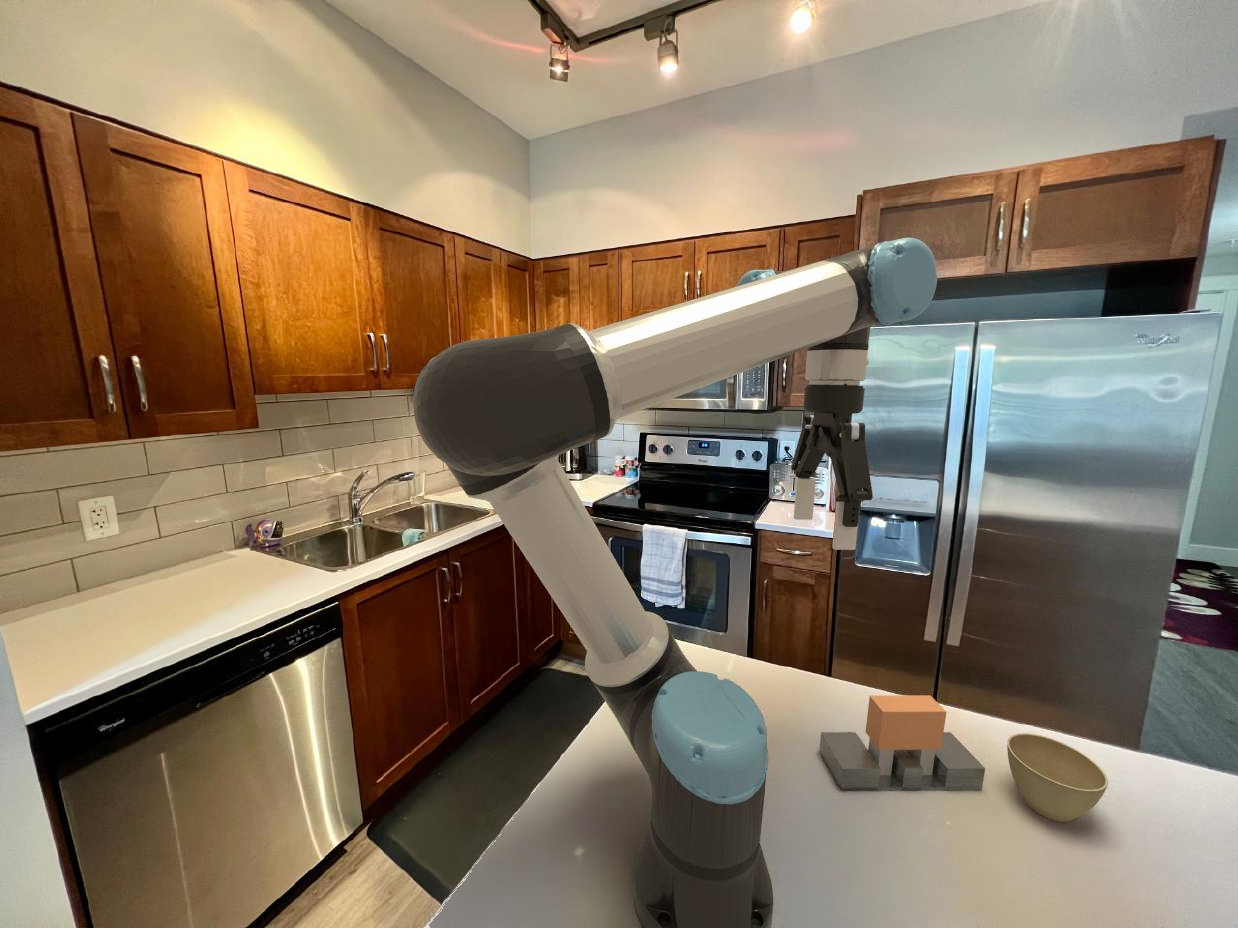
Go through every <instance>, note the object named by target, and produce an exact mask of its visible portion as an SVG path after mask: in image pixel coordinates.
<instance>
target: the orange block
mask: <svg viewBox="0 0 1238 928" xmlns="http://www.w3.org/2000/svg"><path fill="white" fill-rule="evenodd" d="M866 716H867V717H866V725H865V734H866V735H867V736H868V738H869V740H868V748H867V749H868V751H869V752H870V754H871V755H872V757H873V758H874V760H875V761H876V762H877V764H878V765H879V767H880V768H881V770H880V775H891V771H892V763H893V755H894V750H909V751H910V752H911V753H912V755H913V756H914V757H915V758H916V760H917V761H918V762H919V763H920V765H921V766H922V767H923V768H924V769H923V775H932V772H933V765H934V758H935V751H936V749H941V746H942V740H943V733H944V732H945V724H946V717H947V710H946V709H945V708H944V707H942V706H941V705H940V704H939V703H938V702H937V701H936V699H935V698H934V697H933V696H932V695H926V694H925V695H923V694H921V695H919V694H918V695H914V694H913V695H912V694H911V695H906V694H905V695H901V694H900V695H869V699H868V706H867V715H866Z"/></svg>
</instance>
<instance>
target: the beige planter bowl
mask: <svg viewBox="0 0 1238 928" xmlns="http://www.w3.org/2000/svg"><path fill="white" fill-rule="evenodd" d="M1006 743H1007V745H1006V748H1007V749H1006V750H1007V759H1008V765H1009V768H1010V772H1011V775H1012V778H1013V781H1014V783H1015V786H1016V787H1017V790H1018V792H1019V795H1021V798H1022V800H1023V801H1024V802H1025V803H1026V805H1028V807H1029V808H1031V809H1032V811H1034V812H1036V813H1037V814H1039V815H1040V816H1042V817H1044V818H1047V819H1049V820H1051V821H1054V822H1058V823H1068V822H1071V821H1075V820H1077V819H1078V818H1080V817H1082V816H1083V815H1085V814H1086V813H1088V812H1089V811H1091V810H1092V809H1093V808H1094V807H1095V806H1096V805H1097V804H1098V803H1099V801H1100V800H1101V799H1102V797H1103V796H1104V794H1105V792H1106V790H1107V787H1108V786H1109V779H1108V776H1107V774H1106V773H1105V771H1104V770H1103V769H1102V767H1100V766H1099V765H1098V764H1097V763H1096V762H1095V761H1094V760H1092V759H1091V758H1090V757H1088V756H1087V755H1085V754H1084V753H1082V752H1081V751H1080V750H1077V749H1075V748H1074V747H1072V746H1070V745H1068V744H1067V743H1064V742H1061V741H1059V740H1057V739H1054V738H1051V737H1048V736H1044V735H1041V734H1036V733H1028V732H1027V733H1025V732H1022V733H1015V734H1013V735H1012V734H1011V736H1009V737H1008V739H1007V742H1006Z"/></svg>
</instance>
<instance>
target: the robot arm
mask: <svg viewBox="0 0 1238 928" xmlns="http://www.w3.org/2000/svg"><path fill="white" fill-rule="evenodd" d="M937 284H938V275H937V262H936V259H935V255H934V254H933V251H932V250H931V248H930V247H929V246H928V245H927V244H926V243H925V242H924V241H922V240H921V239H917V238H914V237H903V238H898V239H894V240H889V241H888V240H885V241H882V242H878V243H877V244H875V245H872V246H867V247H864V248H861V249H857V250H854V251H850V252H847V253H845V254H842V255H841V254H840V255H836V256H834V257H830V258H828V259H824V260H820V261H817V262H816V261H815V262H812V263H809V264H805V265H802V266H798V267H794V268H791V269H788V270H782V271H781V270H779V271H778V270H774V269H772V268H767V269H752V270H748V271H747V272H745V274H743V275H742V276H741V277H740V279H739V280H738V282H737V283H736V284H735V287H731V288H728V289H727V288H726V289H724V290H721V291H717V292H713V293H711V294H708V295H704V296H700V297H697V298H694V299H692V300H691V299H690V300H688V301H684V302H682V303H678V304H675V305H671V306H667V307H664V308H661V309H658V310H654V311H651V312H648V313H644V314H640V315H638V316H633V317H630V318H628V319H624V320H621V321H618V322H613V323H611V324H607V325H605V326H601V327H598V328H595V329H591V330H586V329H585V328H583V327H581V326H580V325H578V324H577V323H575V322H568V323H566V324H562V325H558V326H555V327H552V328H551V327H550V328H547V329H543V330H538V331H535V332H527V333H522V334H516V335H510V336H509V335H508V336H500V337H499V336H498V337H490V338H480V339H478V338H477V339H470V340H465V341H462V342H459V343H456V344H453V345H451V346H449V347H447V348H446V349H444V350H442V351H441V352H440V353H439V354H438V355H436V356H434V357H432V358H431V359H430V360H429V361H428V362H427V364H426V365H425V366H424V367H423V369H422V370H421V371H420V372H419V373H420V374H419V376H418V377H417V379H416V381H415V386H414V389H413V390H414V391H413V397H412V398H413V399H412V401H413V402H412V403H413V407H412V408H413V416H414V417H413V418H414V421H415V426H416V428H417V430H418V432H419V435H420V437H421V440H422V441H423V443H424V444H425V445H426V447H427V448H428V449H429V450H430V452H431V453H432V454H434V456H435V457H436V458H437V459H438V460H439V461H441V462H442V463H444V464H445V465H446V467H447V468H448V469H449V471H450V472H451V474H452V475H453V477H454V478H455V480H456V481H457V482H458V484H459V486H460V487H461V488H462V490H463V491H464V493H465V494H466V496H467V497H468V498H471V499H475V500H481V501H486V502H488V503H489V504H490V505H491V507H492V508H493V510H494V511H495V514H496V515H497V516H498V518H499V519H500V521H501V522H502V524H503V525H504V527H505V528H506V530H507V531H508V533H509V535H510V536H511V537H512V538H513V540H514V542H515V543H516V545H517V547H519V549H520V551H521V552H522V554H523V555H524V557H525V559H526V560H527V561H528V563H529V564H530V566H531V568H532V570H533V571H534V573H535V574H536V575H537V577H538V579H539V580H540V582H541V584H542V585H543V586H544V587H545V589H546V590H547V592H548V594H549V595H550V597H551V598H552V600H553V601H554V603H555V604H556V606H557V607H558V609H559V610H560V612H561V613H562V615H563V616H564V618H565V620H566V621H567V623H568V624H569V626H570V627H571V629H572V630H573V632H574V634H576V636H577V638H578V639H579V641H580V643H581V644H582V646H583V647H584V648H585V650H586V655H585V659H584V669H585V673H586V674H587V676H588V678H589V679H590V680H591V682H592V684H593V685H594V687H595V689H597V691H598V692H599V694H600V696H601V697H602V699H603V700H604V702H605V703H606V705H607V706H608V708H609V710H610V711H611V713H612V714H613V715H614V717H615V719H616V720H617V722H618V724H619V725H620V727H621V729H622V731H623V732H624V734H625V736H626V738H627V740H628V741H629V742H630V745H631V746H632V748H633V750H634V752H635V754H636V755H637V757H638V759H639V761H640V762H641V764H642V766H643V768H644V770H645V771H646V773H647V775H648V777H649V781H650V785H651V786H650V787H651V799H650V802H651V803H650V822H649V824H648V826H647V829H646V831H645V833H644V836H643V837H642V840H641V842H640V844H639V847H638V849H637V852H636V855H635V860H634V865H633V866H634V867H633V877H632V878H633V881H632V883H633V885H632V887H633V894H632V895H633V900H634V906H635V910H636V913H637V916H638V919H639V922H640V923H641V925H642V927H643V928H772V923H773V911H774V891H773V883H772V879H771V875H770V871H769V869H768V866H767V865H768V864H767V863H766V859H765V855H764V852H763V849H762V848H763V847H762V845H761V835H762V834H761V833H762V826H763V825H762V824H763V814H764V806H765V805H764V803H765V793H766V781H767V774H768V773H767V771H768V765H769V750H768V733H767V731H768V730H767V726H766V721H765V719H764V716H763V713H762V712H761V709H760V707H759V705H758V704H757V703H756V702H755V699H754V698H753V697H752V696H751V695H750V694H749V693H748V692H747V691H746V690H745V689H744V688H743V687H741V686H740V685H738V683H736V682H734V681H732V680H730V679H729V678H726V677H725V678H723V679H719V678H718V675H717V674H715V673H712V672H708V671H700V670H699V671H698V670H697V668H695V666H694V665H692V663H691V662H690V661H689V659H687V657H686V655H685V654H684V652H683V651H682V649H681V647H680V646H679V644H678V642H677V641H676V639H675V637H674V636H673V633H672V632H671V630H670V629H669V627H668V625H667V623H666V621H665V620H664V619H663V618H662V617H661V616H660V615H658V614H657V613H654V612H651V611H646V610H645V609H644V606H643V605H642V604H641V602H640V600H639V597H637V595H636V592H635V591H634V590H633V588H632V586H631V584H630V583H629V581H628V579H627V578H626V576H625V574H624V572H623V570H622V569H621V567H620V566H619V564H618V562H617V560H616V558H615V557H614V555H613V553H612V551H611V550H610V548H609V546H608V544H607V543H606V541H605V540H604V538H603V535H602V534H601V532H600V531H599V529H598V527H597V526H596V523H595V522H594V520H593V518H592V517H591V515H590V514H589V512H588V510H587V508H586V506H585V504H584V503H583V501H582V499H581V498H580V496H579V495H578V493H577V491H576V488H574V486H573V484H572V482H571V481H570V479H569V477H568V475H567V473H566V472H565V470H564V468H563V467H562V464H561V463H560V462H559V457H560V455H563V454H564V453H565V454H566V453H567V452H570V451H573V450H574V449H577V448H580V447H582V446H584V445H587V444H589V443H592V442H595V441H598V440H600V439H602V438H603V439H604V438H606V437H607V436H609V435H610V434H612V432H613V429H614V426H615V425H616V422H617V420H618V419H621V418H623V417H626V416H629V415H632V414H635V413H637V412H640V411H643V410H645V409H648V408H650V407H653V406H656V405H659V404H661V403H664V402H666V401H669V400H672V399H674V398H677V397H680V396H683V395H685V394H688V393H691V392H694V391H697V390H699V389H701V388H705V387H707V386H711V385H712V384H715V383H718V382H720V381H721V382H722V381H723V380H725V379H728V378H731V377H734V376H736V375H739V374H742V373H745V372H747V371H749V370H753V369H755V368H758V367H761V366H764V365H766V364H769V363H771V362H775V361H776V360H779V359H782V358H786V357H787V356H790V355H793V354H795V353H798V352H801V351H804V350H806V349H807V351H806V352H807V353H806V364H805V374H804V375H805V376H804V377H805V380H806V381H809V384H807V385H806V386H805V387H804V393H803V394H804V395H803V410H804V411H806V412H809V413H813V414H812V415H811V414H810V415H809V414H806V415H805V414H804V415H803V418H802V425H801V431H800V434H799V438H798V442H797V444H796V449H795V452H794V455H793V459H792V462H791V464H790V465H791V466H790V469H791V471H792V472H794V474H795V475H794V476H795V478H796V484H795V495H794V496H795V497H794V510H793V519H794V520H798V521H799V520H805V521H806V520H807V521H810V520H812V521H813V518H814V517H813V516H814V506H815V505H814V504H815V493H816V484H817V483H816V482H817V481H816V480H817V479H816V478H818V474H817V469H818V467H819V466H820V463H821V461H822V460H823V458H824V456H825V455H826V456H827V457H828V458H830V461H831V466H832V468H833V473H834V477H835V481H836V485H837V489H838V492H839V494H838V495H837V497H835V499H834V500H835V501H836V503H835V513H834V523H833V532H832V533H833V535H832V547H831V548H832V549H833V550H835V551H836V550H837V551H839V550H841V551H843V550H844V551H847V550H848V551H854V550H855V551H856V549H857V548H856V547H857V538H858V529H859V516H860V507H861V503H863V502H865V501H872V500H873V497H874V496H873V494H874V493H873V487H872V481H871V475H870V468H869V461H868V455H867V449H866V448H867V447H866V424H865V423H864V422H852V415H853V414H860V413H861V412H862V411H863V409H864V400H865V398H864V397H865V389H866V388H864V385H860V384H861V382H864V381H865V380H866V375H867V374H866V373H867V366H868V365H869V364H870V360H869V359H868V352H869V351H868V350H869V346H870V345H869V342H870V334H871V327H873V326H876V325H877V326H878V325H884V326H890V325H893V324H895V323H899V322H906V321H910V320H913V319H915V318H917V317H919V316H920V315H921V314H922V313H923V312H924V311H925V310H926V309H927V307H928V306H929V305H930V303H931V302H932V300H933V298H934V296H935V292H936V289H937Z"/></svg>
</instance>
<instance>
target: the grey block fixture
mask: <svg viewBox="0 0 1238 928" xmlns="http://www.w3.org/2000/svg"><path fill="white" fill-rule="evenodd" d="M818 753H819V755H820V757H821V759H822V760H823V762H824V763H825V765H826V766H825V767H826V768H828V771H829V773H830V774H831V776H832V778H833V780H834V781H835V783H836V785H837V787H838V789H839V791H842V792H843V791H845V792H846V791H850V792H851V791H861V792H862V791H863V792H864V791H865V792H866V791H982V790H983V784H984V779H985V772H986V767H985V766H984V765H983V764H982V763H981V762H980V761H979V760H978V759H977V758H976V757H975V756H974V755H973V754H972V752H970V751H969V749H967V748H966V746H964V745H963V743H962V742H961V741H960V740H959V739H958V738H957V737H956V736H955V735H954V734H953V733H952V732H950V731H944V733H943V740H942V746H941V749H936V751H935V758H934V765H933V772H932V775H923V769H924V768H923V767H922V766H921V765H920V763H919V762H918V761H917V760H916V758H915V757H914V756H913V755H912V753H911V752H910V751H909V750H894V755H893V763H892V771H891V775H880V770H881V768H880V767H879V765H878V764H877V762H876V761H875V760H874V758H873V757H872V755H871V754H870V752H869V751H868V748H867V747H866V745H865V744H864V742H863V741H862V739H861V738H860V736H859V735H858V734H857V732H856V731H855V732H854V731H851V732H849V731H845V732H843V731H840V732H839V731H837V732H836V731H832V732H831V731H830V732H829V731H828V732H827V731H826V732H825V731H821V732H820V742H819V751H818Z"/></svg>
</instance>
